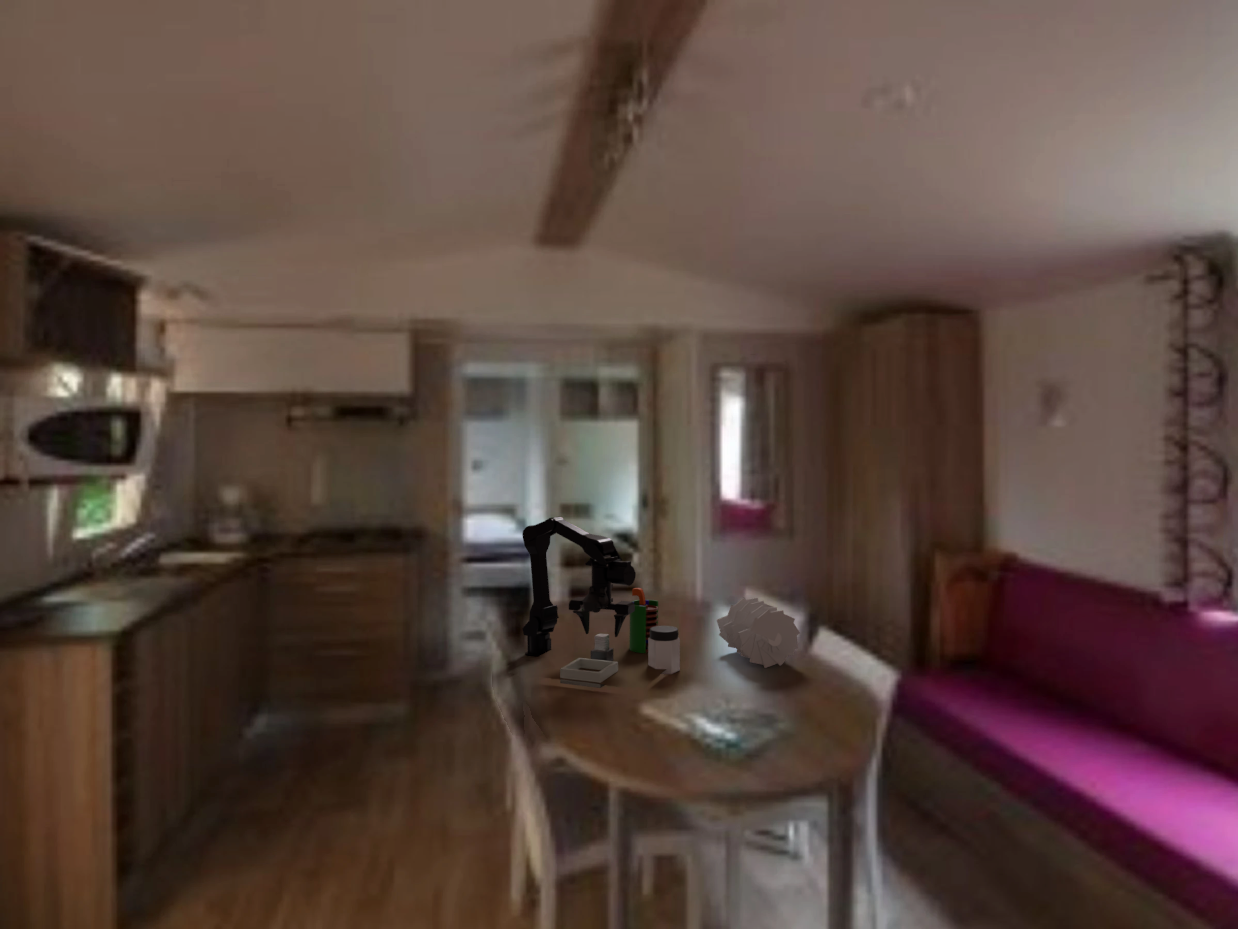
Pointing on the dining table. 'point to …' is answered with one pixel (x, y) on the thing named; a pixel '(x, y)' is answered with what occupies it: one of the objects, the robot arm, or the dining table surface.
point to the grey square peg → (602, 648)
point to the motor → (642, 621)
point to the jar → (664, 649)
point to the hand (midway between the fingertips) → (601, 635)
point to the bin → (588, 672)
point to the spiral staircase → (759, 632)
